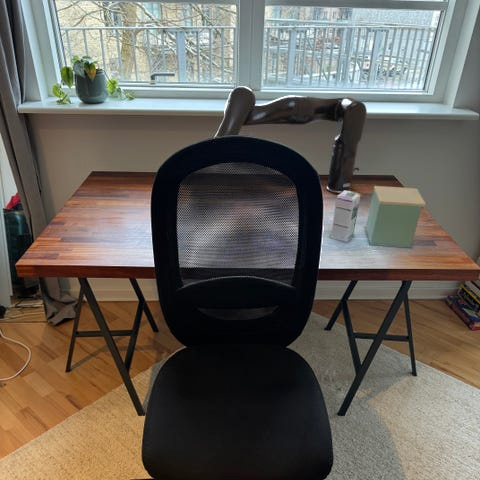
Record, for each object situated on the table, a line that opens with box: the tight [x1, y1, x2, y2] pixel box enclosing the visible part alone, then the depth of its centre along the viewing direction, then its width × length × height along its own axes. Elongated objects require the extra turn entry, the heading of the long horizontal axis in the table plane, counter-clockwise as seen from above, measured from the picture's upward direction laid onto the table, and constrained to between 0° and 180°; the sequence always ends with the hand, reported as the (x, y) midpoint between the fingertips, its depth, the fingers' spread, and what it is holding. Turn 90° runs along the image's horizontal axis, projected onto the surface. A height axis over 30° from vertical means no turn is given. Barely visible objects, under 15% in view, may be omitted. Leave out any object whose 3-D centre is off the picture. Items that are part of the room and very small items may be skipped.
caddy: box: [365, 189, 423, 249], centre depth 145 cm, size 13×13×14 cm
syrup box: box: [330, 190, 361, 243], centre depth 144 cm, size 6×6×14 cm
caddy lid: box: [373, 185, 426, 208], centre depth 140 cm, size 13×13×1 cm
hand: (313, 186), depth 139 cm, fingers open, 8 cm apart
